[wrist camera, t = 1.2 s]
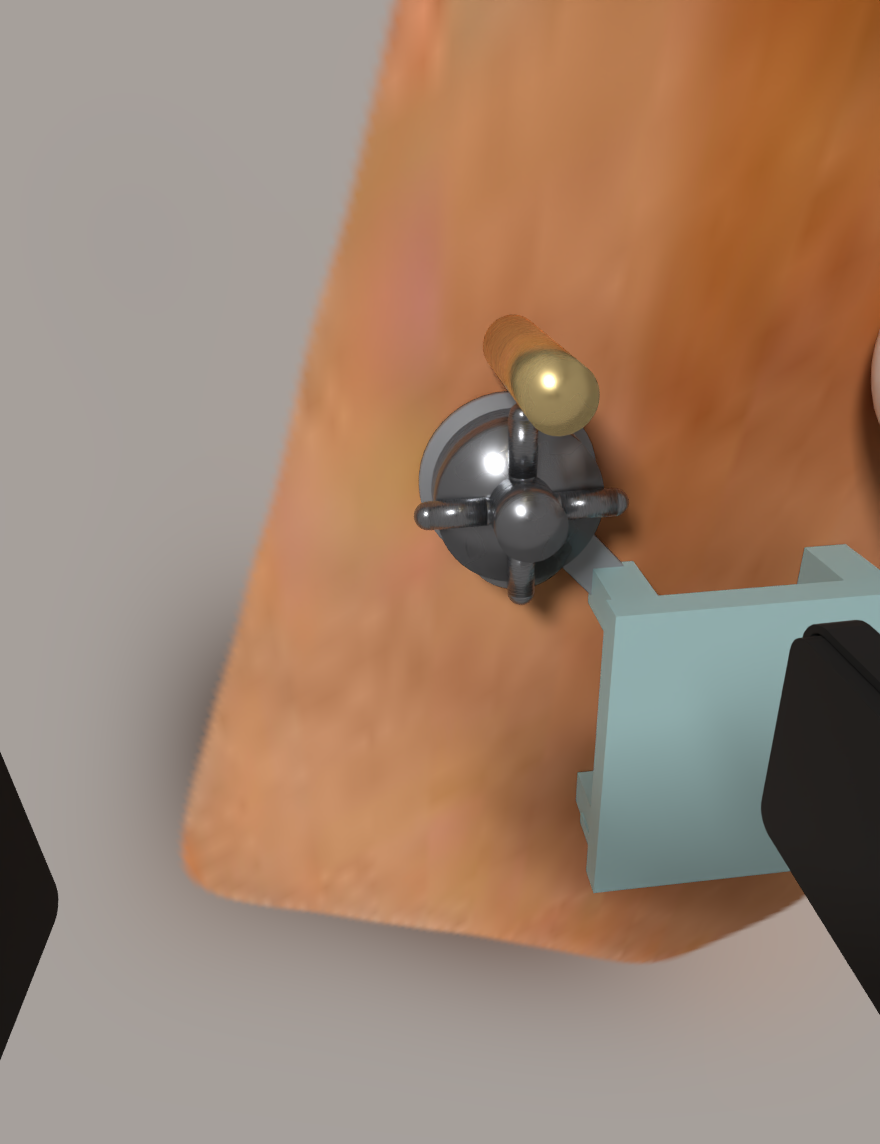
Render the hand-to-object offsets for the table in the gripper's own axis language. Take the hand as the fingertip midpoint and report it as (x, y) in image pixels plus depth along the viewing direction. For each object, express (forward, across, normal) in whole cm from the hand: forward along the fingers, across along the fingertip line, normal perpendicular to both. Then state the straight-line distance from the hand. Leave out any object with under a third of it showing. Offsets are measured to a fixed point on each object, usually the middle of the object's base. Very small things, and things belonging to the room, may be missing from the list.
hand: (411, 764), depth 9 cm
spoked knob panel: (+20, -10, +12) cm, 26 cm away
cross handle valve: (+20, -5, +3) cm, 21 cm away
